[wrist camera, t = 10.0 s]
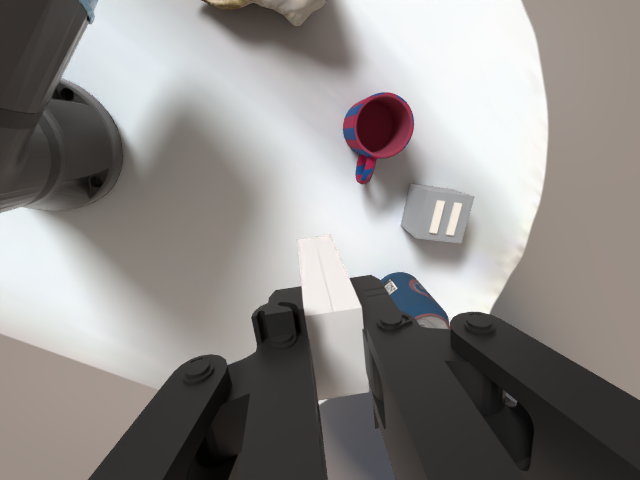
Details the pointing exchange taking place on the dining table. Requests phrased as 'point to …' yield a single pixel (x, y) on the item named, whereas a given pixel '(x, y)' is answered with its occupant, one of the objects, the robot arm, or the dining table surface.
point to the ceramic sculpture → (276, 7)
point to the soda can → (415, 300)
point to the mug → (377, 130)
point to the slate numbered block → (436, 213)
